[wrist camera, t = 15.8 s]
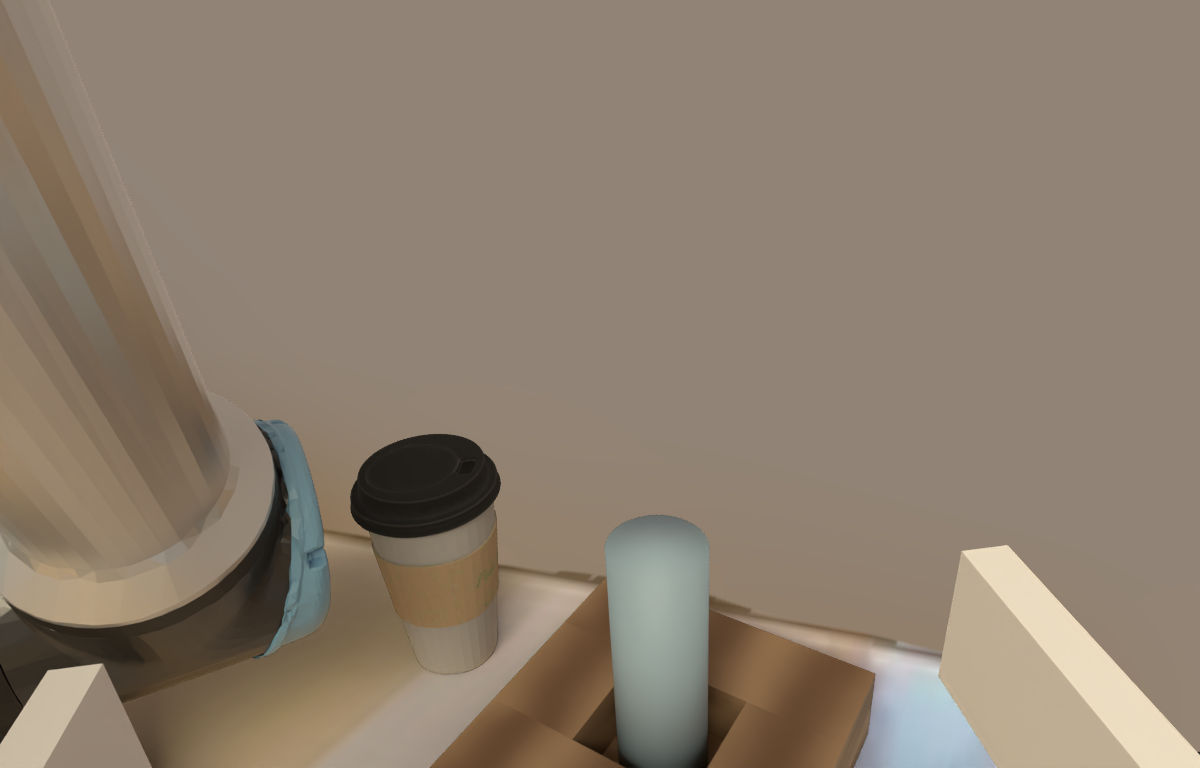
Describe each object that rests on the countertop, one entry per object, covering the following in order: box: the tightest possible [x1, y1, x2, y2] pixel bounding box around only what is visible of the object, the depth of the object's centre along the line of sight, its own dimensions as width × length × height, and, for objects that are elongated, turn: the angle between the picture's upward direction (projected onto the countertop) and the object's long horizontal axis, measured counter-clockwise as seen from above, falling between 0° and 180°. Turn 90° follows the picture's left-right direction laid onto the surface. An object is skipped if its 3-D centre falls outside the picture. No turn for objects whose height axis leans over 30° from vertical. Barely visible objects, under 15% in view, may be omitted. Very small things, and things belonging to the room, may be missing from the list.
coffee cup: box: [350, 434, 501, 674], centre depth 53 cm, size 9×9×15 cm
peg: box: [605, 515, 709, 768], centre depth 42 cm, size 5×5×16 cm
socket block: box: [430, 577, 875, 768], centre depth 45 cm, size 18×18×5 cm
